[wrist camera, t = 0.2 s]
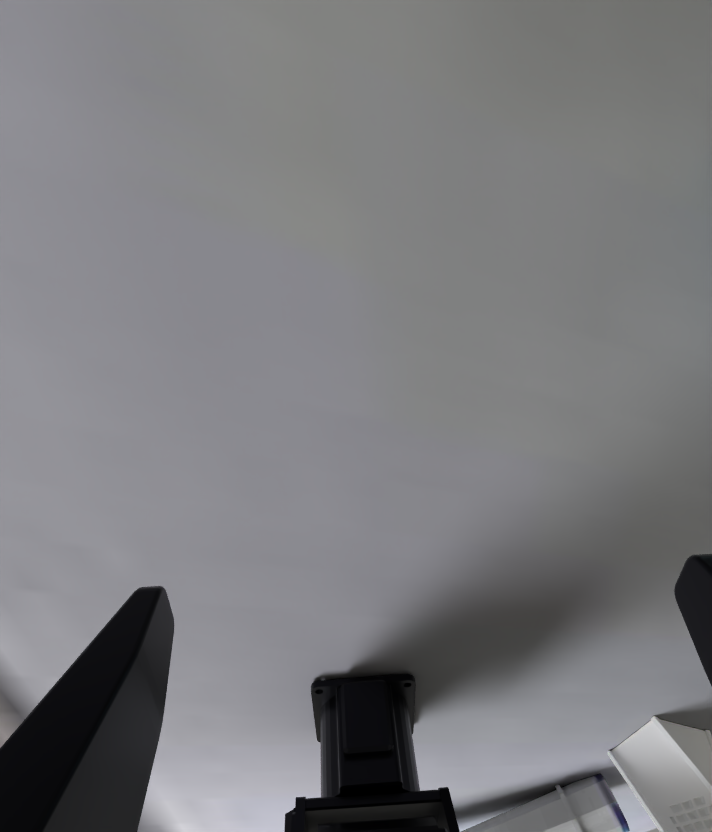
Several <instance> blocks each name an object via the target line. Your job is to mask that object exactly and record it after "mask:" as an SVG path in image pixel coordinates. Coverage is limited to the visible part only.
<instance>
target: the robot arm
mask: <svg viewBox="0 0 712 832" xmlns="http://www.w3.org/2000/svg"><path fill="white" fill-rule="evenodd" d="M675 598H676V601H677V604H678V606H679V609H680V611H681V613H682V616H683V618H684V621H685V623H686V626H687V628H688V631H689V633H690V636H691V638H692V640H693V643H694V645H695V648H696V650H697V653H698V655H699V658H700V660H701V663H702V665H703V667H704V670H705V672H706V674H707V677H708V679H709V681H710V683H711V685H712V554H702V555H692V556H690V557H689V558H688V559H687V560H686V562H685V565H684V567H683V569H682V571H681V573H680V576H679V578H678V580H677V582H676V585H675ZM173 635H174V618H173V614H172V610H171V607H170V603H169V600H168V596H167V593H166V590H165V589H164V588H163V587H161V586H153V587H141V588H139V589H137V590H136V591H135V592H134V593H133V594H132V595H131V596H130V597H129V599H128V600H127V601H126V602H125V603H124V604H123V606H122V607H121V608H120V609H119V610H118V611H117V613H116V614H115V615H114V616H113V617H112V618H111V620H110V621H109V622H108V623H107V624H106V625H105V627H104V628H103V629H102V630H101V631H100V632H99V634H98V635H97V636H96V637H95V638H94V639H93V641H92V642H91V643H90V644H89V645H88V646H87V648H86V649H85V650H84V651H83V652H82V653H81V655H80V656H79V657H78V658H77V659H76V660H75V662H74V663H73V664H72V665H71V666H70V667H69V669H68V670H67V671H66V672H65V673H64V674H63V676H62V677H61V678H60V679H59V680H58V681H57V683H56V684H55V685H54V686H53V687H52V688H51V690H50V691H49V692H48V693H47V694H46V695H45V697H44V698H43V699H42V700H41V701H40V703H39V704H38V705H37V706H36V707H35V708H34V710H33V711H32V712H31V713H30V714H29V715H28V717H27V718H26V719H25V720H24V721H23V722H22V724H21V725H20V726H19V727H18V728H17V729H16V731H15V732H14V733H13V734H12V735H11V736H10V738H9V739H8V740H7V741H6V742H5V743H4V745H3V746H2V747H1V748H0V832H137V830H138V825H139V821H140V817H141V813H142V809H143V804H144V800H145V796H146V792H147V787H148V783H149V779H150V775H151V770H152V766H153V762H154V758H155V754H156V749H157V745H158V741H159V736H160V732H161V727H162V721H163V714H164V707H165V699H166V691H167V683H168V675H169V667H170V659H171V651H172V643H173ZM311 695H312V703H313V711H314V719H315V727H316V735H317V740H318V742H321V798H308V799H306V797H296V806H295V808H294V809H293V810H292V811H290V812H288V813H286V814H285V832H459V828H458V824H457V820H456V816H455V812H454V808H453V804H452V800H451V796H450V792H449V789H448V787H444V788H439V789H438V790H427V791H420V788H419V781H418V774H417V767H416V760H415V753H414V746H413V739H412V734H413V727H414V705H415V679H414V676H413V675H410V674H404V675H391V676H378V677H364V678H351V679H338V680H324V681H316V682H314V683H312V685H311Z"/></svg>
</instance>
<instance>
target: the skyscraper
mask: <svg viewBox="0 0 712 832" xmlns="http://www.w3.org/2000/svg"><path fill="white" fill-rule="evenodd" d="M608 756H609V757H610V759H611V760H612V762H613V763H614V765H615V766H616V768H617V769H618V770H619V772H620V773H621V775H622V776H623V778H624V779H625V781H626V782H627V784H628V785H629V787H630V788H631V790H632V791H633V793H634V794H635V796H636V797H637V799H638V800H639V802H640V803H641V805H642V806H643V808H644V809H645V811H646V812H647V814H648V815H649V816H650V818H651V819H652V821H653V822H654V824H655V825H656V827H657V828H658V830H659V831H660V832H712V736H711V733H710V730H705V731H703V730H699V729H695V728H692V727H688V726H684V725H680V724H676V723H672V722H668V721H664V720H660V719H659V718H658V717H655V716H653V717H652V718H651V721H649V722H648V723H647V724H645V725H644V726H643V727H642V728H640V729H639V730H638V731H636V732H635V733H634V734H632V735H631V736H630V737H629V738H627V739H626V740H625V741H623V742H622V743H621V744H619V745H618V746H617V747H616V748H614V749H613V750H612V751H608Z"/></svg>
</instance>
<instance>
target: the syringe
mask: <svg viewBox="0 0 712 832" xmlns="http://www.w3.org/2000/svg"><path fill="white" fill-rule="evenodd" d="M555 787H556V789H557V790H555V791H553V792H551V793H548V794H546V795H544V796H542V797H539V798H537V799H535V800H532V801H530V802H528V803H526V804H523V805H521V806H519V807H516V808H514V809H512V810H510V811H507V812H505V813H503V814H500V815H498V816H496V817H493V818H491V819H489V820H487V821H484V822H482V823H480V824H477V825H475V826H473V827H471V828H468V829H466V830H464V831H461V832H628V831H630V830H629V827H628V824H627V821H626V819H625V817H624V815H623V813H622V811H621V809H620V807H619V805H618V803H617V801H616V799H615V797H614V795H613V793H612V792H611V790H610V788H609V786H608V784H607V783H606V781H605V779H604V778H603V776H602V775H601V774H598V775H595V776H592V777H589V778H586V779H583V780H580V781H576V782H574V783H572V784H569V785H567V786H565V787H562V788H561V787H560V785H559V784H558V785H555Z"/></svg>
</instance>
